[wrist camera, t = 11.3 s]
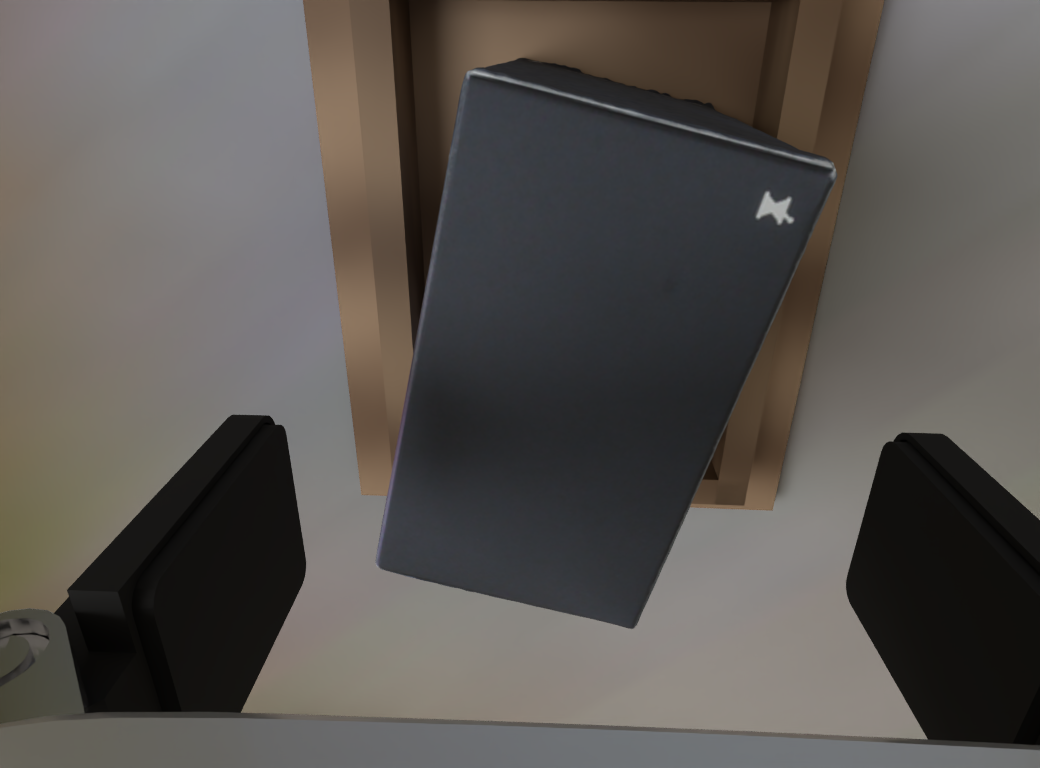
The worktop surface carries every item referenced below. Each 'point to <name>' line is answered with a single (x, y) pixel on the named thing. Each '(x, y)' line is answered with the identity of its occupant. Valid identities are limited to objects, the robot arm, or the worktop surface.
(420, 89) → the brown shallow box
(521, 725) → the robot arm
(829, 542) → the worktop surface
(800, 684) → the worktop surface
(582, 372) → the small box
